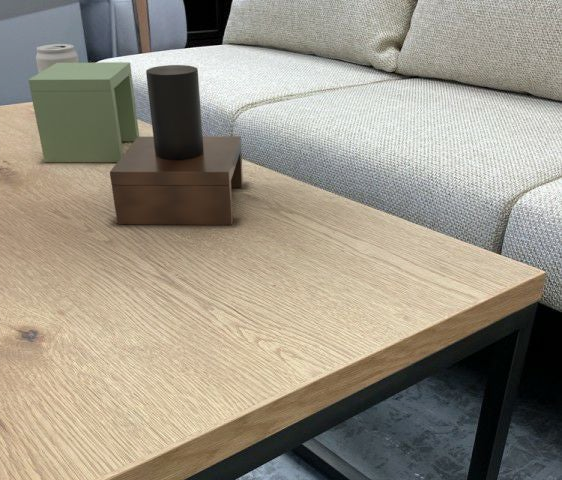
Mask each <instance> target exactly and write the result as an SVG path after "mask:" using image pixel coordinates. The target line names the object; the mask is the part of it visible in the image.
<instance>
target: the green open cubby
mask: <svg viewBox="0 0 562 480" xmlns="http://www.w3.org/2000/svg"><path fill="white" fill-rule="evenodd" d="M28 85H29V91H30V96H31V100H32V105H33V111H34V115H35V120H36V126H37V130H38V136H39V140H40V146H41V150H42V155H43V161H44V163H117V162H118V161H119V159H120V158H121V157H122V156H123V154H124V150H123V144H122V142H134V140H135V139H136V138H137V137H140V131H139V124H138V115H137V107H136V100H135V98H136V97H135V90H134V81H133V75H132V68H131V62H128V61H127V62H124V61H123V62H121V61H119V62H111V61H110V62H106V61H105V62H79V63H55V64H54V65H52V66H50V67H49V68H47V69H45V70H44V71H42V72H40V73H39V72H38V73H37V74H35V75H34V76H31V77H30V78H28Z"/></svg>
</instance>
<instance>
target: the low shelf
mask: <svg viewBox="0 0 562 480" xmlns="http://www.w3.org/2000/svg"><path fill="white" fill-rule="evenodd" d="M203 148H204V152H203V154H202V155H200V156H198V157H195V158H191V159H184V160H168V159H162V158H159V157H157V156H156V154H155V147H154V138H153V136H139V137H137V138H136V139H135V140H134V141H132V142H131V144H130V146H129V147H128V148H127V149H126V151H125V152H123V156H122V157H121V158H120V159H119V161H118V162H115V164H114V166H113V167H112V168H111V170H110V171H109V177H110V182H111V183H110V184H111V191H112V197H113V205H114V210H115V211H114V212H115V217H116V223H117V225H183V226H185V225H189V226H190V225H191V226H193V225H195V226H196V225H200V226H202V225H203V226H205V225H207V226H210V225H211V226H213V225H214V226H216V225H217V226H220V225H222V226H229V225H230V226H231V225H232V224H233V221H234V214H233V194H232V188H235V189H236V188H240V189H241V188H243V184H244V176H243V174H244V173H243V153H242V152H243V151H242V150H243V149H242V137H241V136H203Z"/></svg>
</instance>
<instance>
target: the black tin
mask: <svg viewBox="0 0 562 480" xmlns="http://www.w3.org/2000/svg"><path fill="white" fill-rule="evenodd" d="M145 76H146V83H147V93H148V102H149V111H150V118H151V120H150V121H151V129H152V137H153V138H154V147H155V154H156V156H157V157H159V158H162V159H168V160H184V159H191V158H195V157H198V156H200V155H202V154H203V152H204V148H203V137H204V136H203V124H202V108H201V96H200V95H201V94H200V81H199V70H198V68H197V67H196V66H193V65H186V64H167V65H158V66H153V67H149V68H148V69H146V71H145Z"/></svg>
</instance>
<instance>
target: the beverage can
mask: <svg viewBox="0 0 562 480" xmlns="http://www.w3.org/2000/svg"><path fill="white" fill-rule="evenodd" d="M36 51H37V52H36V55H35V60H36V66H37V71H38V74H39V73H40V72H42V71H44V70H45V69H47V68H49V67H50V66H52V65H54V64H55V63H80V61H79V60H80V59H79V55H78V53H77V51H76V50H75V46H74V45H73V44H69V43H53V44H44V45H41V46H37V47H36Z"/></svg>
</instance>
